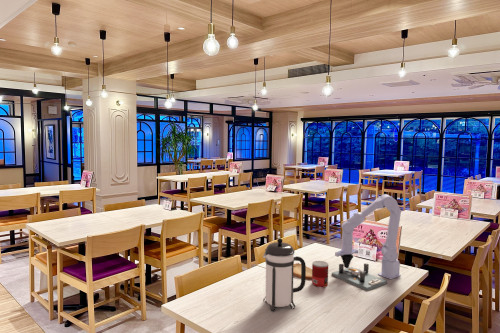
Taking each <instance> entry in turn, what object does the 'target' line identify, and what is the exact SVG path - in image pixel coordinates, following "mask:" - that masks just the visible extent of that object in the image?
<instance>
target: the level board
mask: <svg viewBox="0 0 500 333" xmlns="http://www.w3.org/2000/svg"><path fill="white" fill-rule="evenodd" d="M349 268H350V269H356V268H355V267H352V266H349ZM349 268H344V270H345V271H351V270H348V269H349ZM331 276H332V277H335V278H337V279H339V280H342V281H344V282H346V283H349V284H350V285H353V286H356V287H357V288H360V289H361V290H364V291H366V292H367V291H370V290H373V289H376V288H378V287H382V286H384V285H387V284H388V280H387V279H383V278H382V277H379V276H376V275H373V274H371V273H369V272H368V273H365V282H360V279H359V278H358V277H353V276H351V274H349V273H339V270H337V271H332V272H331Z"/></svg>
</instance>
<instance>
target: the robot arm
mask: <svg viewBox="0 0 500 333" xmlns="http://www.w3.org/2000/svg"><path fill="white" fill-rule="evenodd" d="M377 209H378V210H379V209H386V210H387V211H389V214H390V215H389V219H388V220H389V221H388V226H387V231H386V232H387V233H386V239H385V241H384V243H383V246H382V248H381V254H382V257H381V272H378V273H377V275H379V276H381V277H384V278H387V279H389V280H393V279H395V278H398V277H400V276H401V274H400V267H401V264H400V260H398V257H399V256H398V252H397V250H398V248H397V247H398V246H397V239H398V234H399V226H400V221H401V214H402V210H401V208H400V206H399V204H398V201H397V200H396V199H395V198H394V197H392V196H390V195H389V194H386V193H384V194H381V195H380V196H378V197H377V198H376V199H374V201H373V202H371V203H370V204H369V205H368V206H366V207H365V209H363V210H362V211H361V212H359V211H358V212H354V213H353V214H352V216H351V217H350V218H347V219H346V220H345V221H343V222H342V223H341V226H340V227H341V229H342V231H341V233H342V234H341V249H340V250H338V251H335V253H334V255H335V257H341V260H342V262H343V263H342V264H343V265H344V269H346V268H349V267H350V264H351V261H353V258H354V255H353V254H357V255H358V254H359V249H357V248H353V244H354V243H353V240H354V239H353V238H354V237H353V236H354V235H353V233H354V231H355V229H356V228H357V227H359V225H361V224H362V223H363V222H366V221H365V220H366V217H368V216H369V215H370V214H371V213H373V212H374V211H376V210H377Z"/></svg>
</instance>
